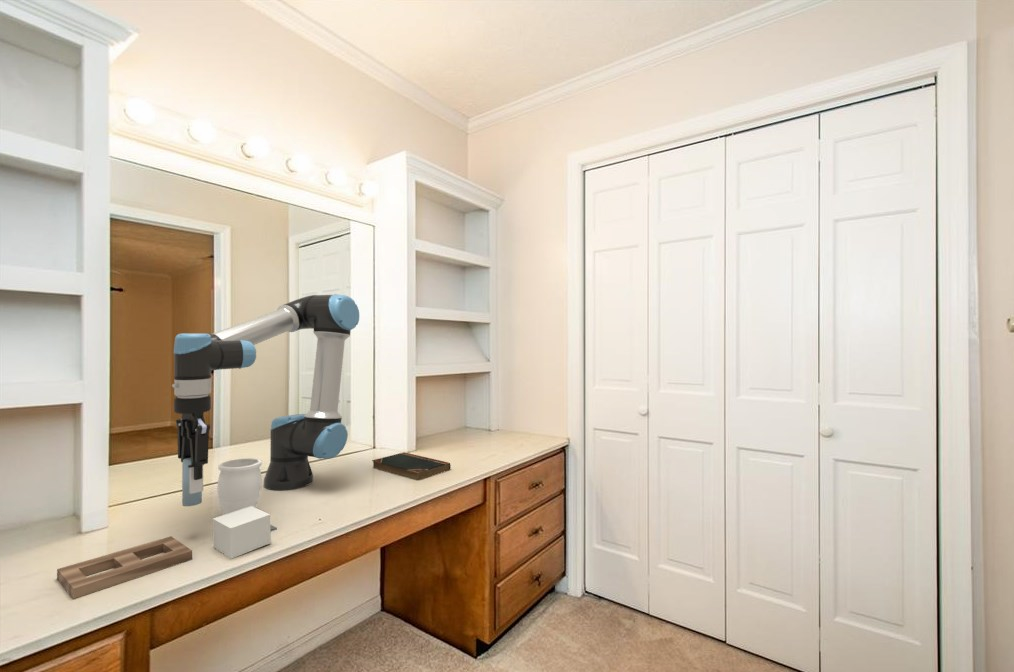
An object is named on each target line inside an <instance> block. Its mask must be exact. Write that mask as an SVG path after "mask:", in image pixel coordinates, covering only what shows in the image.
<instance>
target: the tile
mask: <svg viewBox="0 0 1014 672" xmlns="http://www.w3.org/2000/svg"><path fill="white" fill-rule="evenodd" d="M275 530H278V528H277V527H276V526H274V525H272V524H270V531H271V532H273V531H275Z"/></svg>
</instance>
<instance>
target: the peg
mask: <svg viewBox="0 0 1014 672" xmlns="http://www.w3.org/2000/svg"><path fill="white" fill-rule="evenodd" d="M188 465H191V457H190V458H186V459H183V488H182V487H181V490H182V492H181V493H182V495H181V496H182V497H181V498H182V499H181V502H182V503H181V506H182V507H194V506H199V505H200V504H202V502H203V499H202V498H203V494H202V493H203V491H200V492H197V493H193V494H190V493H189V474H190V468H189V467H188Z"/></svg>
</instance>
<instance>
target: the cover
mask: <svg viewBox="0 0 1014 672" xmlns="http://www.w3.org/2000/svg"><path fill="white" fill-rule="evenodd" d="M270 525H271V514H269V513H268V512H265V511H263V510H261V509H259V508H257V507H253V506H250V507H247V508H244V509H241V510H238V511H235V512H231V513H228V514H225V515H223V514H222V515H219V516H216V517H213V518H212V536H213V538H212V541H213V546H212V547H213V548H214V549H215V548H216V549H215V550H216V551H218V550H219V551H218V552H220V553H221V552H222V553H221V554H223V553H224V554H223V555H225V556H226V557H228V558H229V559H234V558H236V557H240V556H241V555H244V554H246V553H249V552H251V551H254V550H257V549H259V548H262V547H264V546H267V545H270V544H271V543H272V541H271V540H272V539H271V537H272V536H271V535H272V534H271V533H272V531H270Z"/></svg>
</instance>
